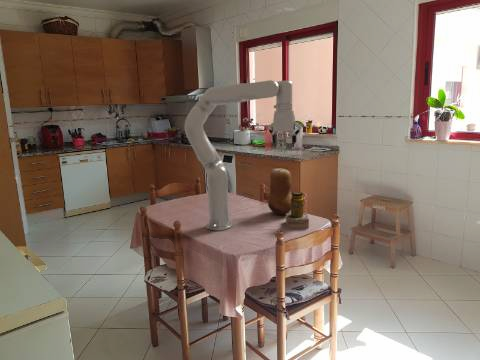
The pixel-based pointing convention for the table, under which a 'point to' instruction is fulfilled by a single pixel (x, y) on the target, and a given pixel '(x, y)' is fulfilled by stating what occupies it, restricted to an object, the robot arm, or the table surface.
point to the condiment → (296, 206)
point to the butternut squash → (280, 191)
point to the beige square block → (297, 222)
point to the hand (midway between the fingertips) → (284, 143)
